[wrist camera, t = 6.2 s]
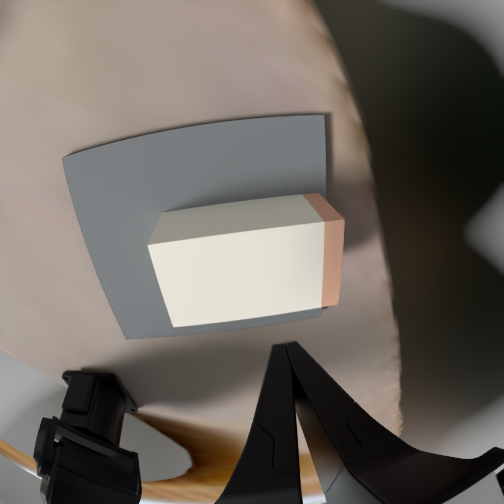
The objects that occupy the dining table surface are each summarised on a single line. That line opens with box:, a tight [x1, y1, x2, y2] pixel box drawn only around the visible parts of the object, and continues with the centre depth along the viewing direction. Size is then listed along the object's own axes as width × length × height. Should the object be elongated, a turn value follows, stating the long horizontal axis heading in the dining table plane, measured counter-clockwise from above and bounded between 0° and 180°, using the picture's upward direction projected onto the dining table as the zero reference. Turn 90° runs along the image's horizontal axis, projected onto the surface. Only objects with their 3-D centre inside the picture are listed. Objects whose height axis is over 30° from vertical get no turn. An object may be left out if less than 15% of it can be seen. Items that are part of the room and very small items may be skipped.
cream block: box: [148, 193, 345, 327], centre depth 16 cm, size 5×4×9 cm
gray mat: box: [62, 115, 326, 339], centre depth 18 cm, size 14×15×1 cm
